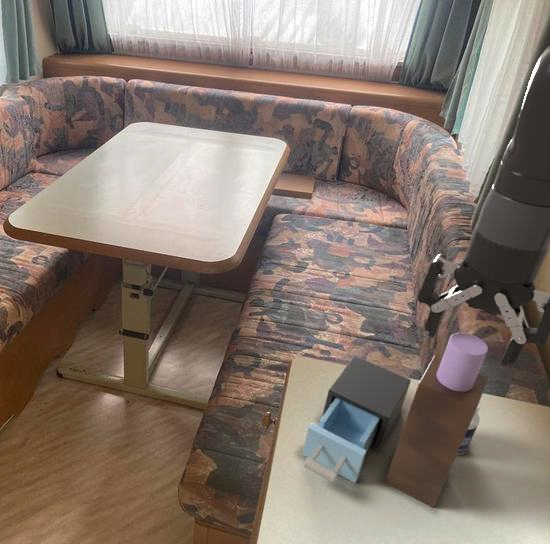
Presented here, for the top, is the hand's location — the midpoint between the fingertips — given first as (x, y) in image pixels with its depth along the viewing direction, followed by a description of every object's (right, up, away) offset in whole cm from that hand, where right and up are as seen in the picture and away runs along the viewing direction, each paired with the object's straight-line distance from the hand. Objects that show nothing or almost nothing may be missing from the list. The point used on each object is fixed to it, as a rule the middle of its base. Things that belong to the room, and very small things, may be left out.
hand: (467, 347), depth 71 cm
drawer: (-13, -19, +15) cm, 27 cm away
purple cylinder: (0, -4, +3) cm, 5 cm away
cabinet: (-6, -15, +24) cm, 29 cm away
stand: (-1, -21, +13) cm, 25 cm away
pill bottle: (+7, -18, +20) cm, 28 cm away
